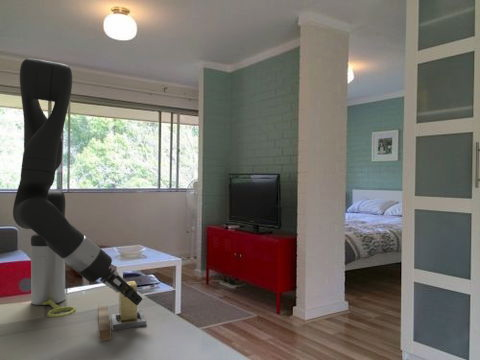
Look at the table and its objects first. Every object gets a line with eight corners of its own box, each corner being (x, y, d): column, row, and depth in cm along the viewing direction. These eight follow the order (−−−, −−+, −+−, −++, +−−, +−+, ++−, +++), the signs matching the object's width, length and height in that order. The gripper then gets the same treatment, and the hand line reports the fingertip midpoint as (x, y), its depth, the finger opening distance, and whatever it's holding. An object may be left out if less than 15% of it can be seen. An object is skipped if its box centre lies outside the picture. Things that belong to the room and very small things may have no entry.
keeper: (111, 319, 106) (111, 314, 106) (142, 315, 109) (142, 310, 109) (112, 329, 98) (112, 324, 98) (146, 325, 101) (146, 320, 101)
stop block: (119, 321, 105) (118, 282, 104) (134, 318, 106) (134, 280, 106) (120, 326, 101) (120, 286, 101) (137, 324, 102) (136, 284, 102)
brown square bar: (98, 315, 109) (98, 306, 109) (107, 314, 109) (107, 305, 109) (99, 341, 92) (99, 330, 92) (110, 339, 93) (110, 328, 92)
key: (50, 306, 118) (50, 298, 118) (79, 312, 112) (79, 305, 112) (27, 313, 112) (27, 305, 112) (56, 321, 106) (56, 312, 106)
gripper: (107, 250, 93) (155, 292, 100) (90, 242, 105) (134, 280, 112) (83, 277, 90) (134, 318, 97) (68, 265, 102) (115, 303, 109)
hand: (134, 298), depth 104 cm, fingers open, 6 cm apart
